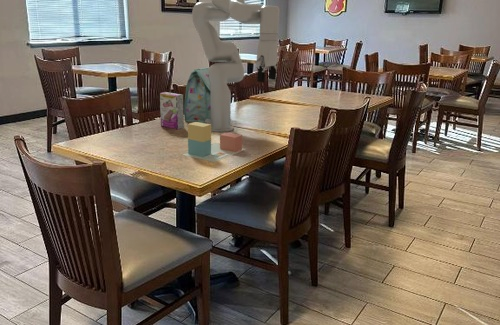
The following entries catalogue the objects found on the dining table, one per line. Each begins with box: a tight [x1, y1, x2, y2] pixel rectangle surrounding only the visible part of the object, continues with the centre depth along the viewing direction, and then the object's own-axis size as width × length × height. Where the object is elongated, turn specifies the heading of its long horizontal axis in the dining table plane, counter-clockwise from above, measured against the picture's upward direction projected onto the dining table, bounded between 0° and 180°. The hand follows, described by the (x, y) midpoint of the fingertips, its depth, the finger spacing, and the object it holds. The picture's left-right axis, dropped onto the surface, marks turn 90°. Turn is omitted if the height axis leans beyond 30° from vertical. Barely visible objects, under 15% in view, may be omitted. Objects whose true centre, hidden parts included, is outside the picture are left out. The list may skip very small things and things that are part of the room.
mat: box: [181, 142, 247, 163], centre depth 185 cm, size 16×22×1 cm
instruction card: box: [208, 152, 229, 158], centre depth 181 cm, size 6×6×1 cm
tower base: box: [187, 121, 212, 157], centre depth 180 cm, size 8×5×12 cm, turn 58°
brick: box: [219, 132, 243, 152], centre depth 188 cm, size 8×5×6 cm, turn 58°
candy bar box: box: [159, 91, 185, 130], centre depth 222 cm, size 11×5×16 cm, turn 58°
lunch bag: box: [183, 66, 211, 123], centre depth 240 cm, size 23×16×27 cm
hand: (266, 80), depth 190 cm, fingers open, 9 cm apart
